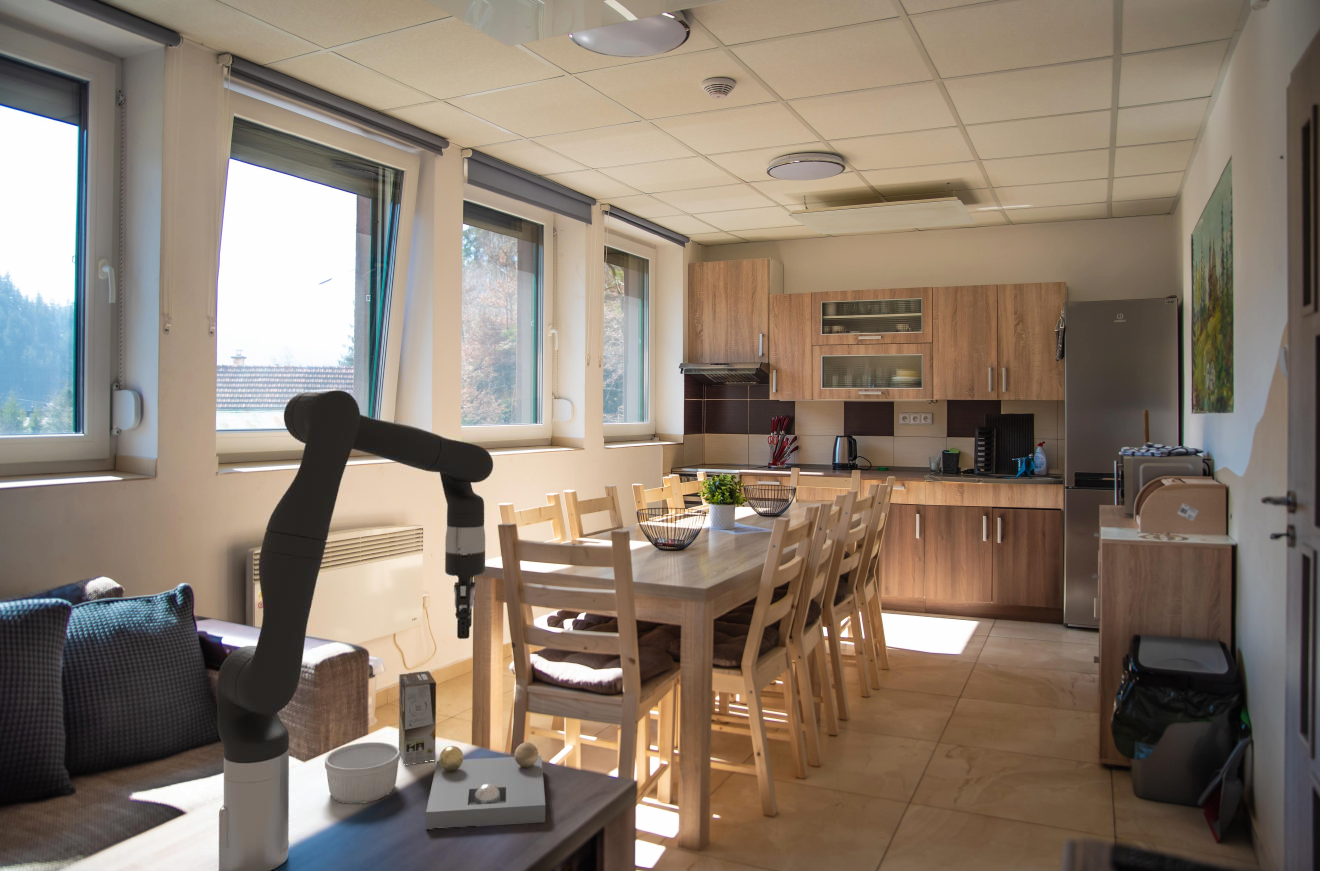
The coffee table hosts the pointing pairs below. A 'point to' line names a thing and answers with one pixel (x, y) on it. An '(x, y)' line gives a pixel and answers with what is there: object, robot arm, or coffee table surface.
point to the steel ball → (487, 794)
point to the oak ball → (526, 754)
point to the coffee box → (417, 717)
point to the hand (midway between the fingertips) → (464, 632)
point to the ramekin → (362, 771)
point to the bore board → (458, 807)
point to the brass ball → (451, 758)
